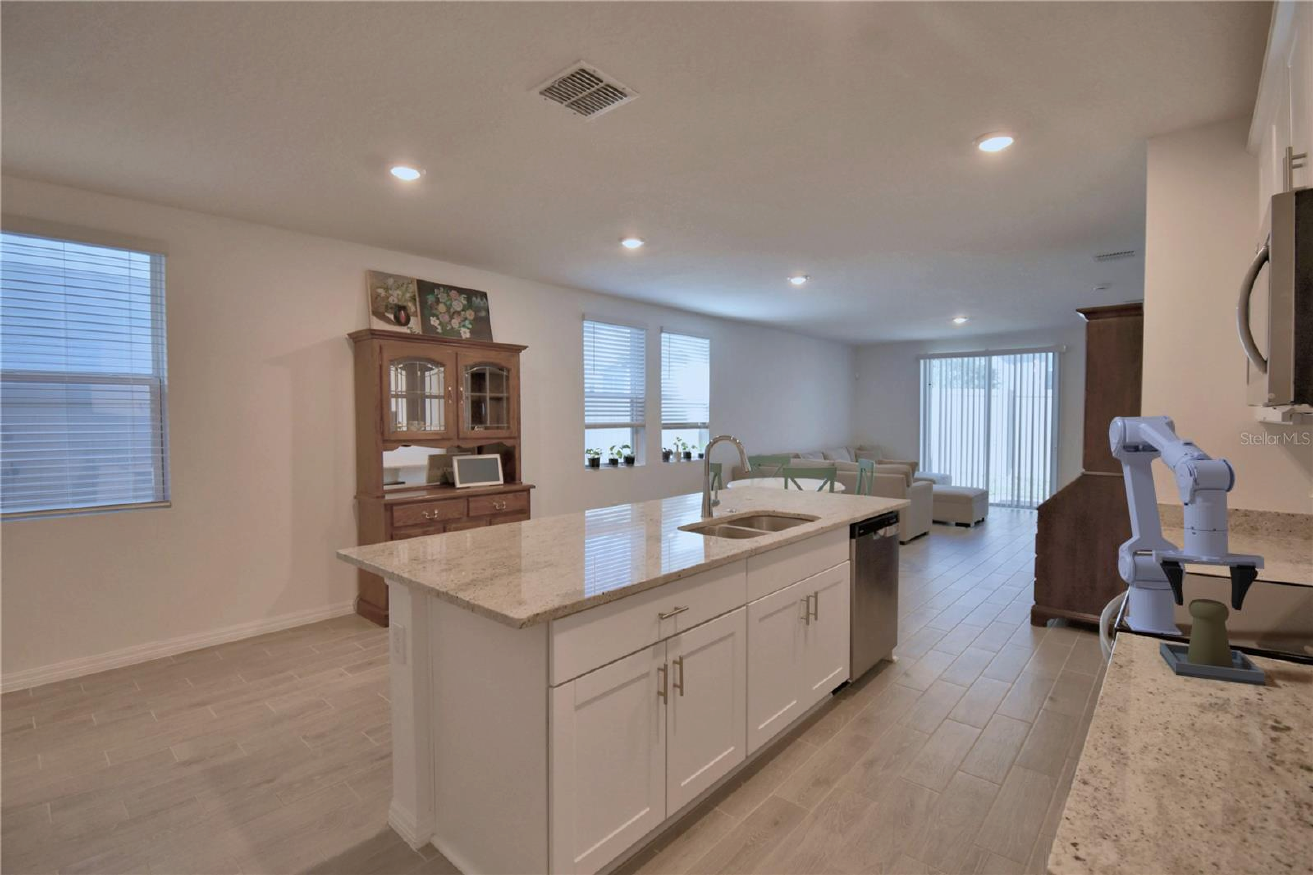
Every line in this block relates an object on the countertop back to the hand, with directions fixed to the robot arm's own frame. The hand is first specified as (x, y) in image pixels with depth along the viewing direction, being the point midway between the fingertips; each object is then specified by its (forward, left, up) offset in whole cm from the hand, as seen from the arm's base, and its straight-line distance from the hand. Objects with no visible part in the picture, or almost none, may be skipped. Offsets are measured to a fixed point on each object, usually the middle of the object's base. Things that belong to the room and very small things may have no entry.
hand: (1207, 606), depth 108 cm
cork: (+1, 0, -10) cm, 10 cm away
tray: (+2, 0, -10) cm, 10 cm away
